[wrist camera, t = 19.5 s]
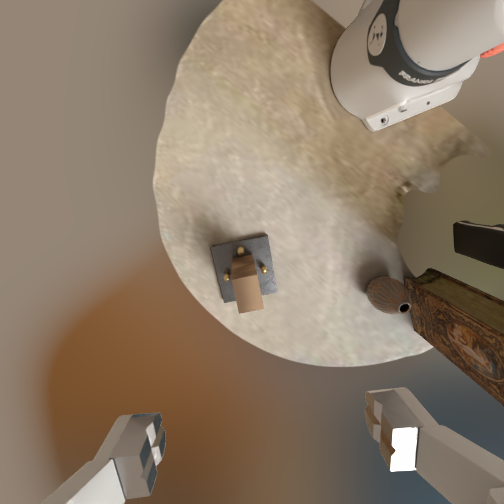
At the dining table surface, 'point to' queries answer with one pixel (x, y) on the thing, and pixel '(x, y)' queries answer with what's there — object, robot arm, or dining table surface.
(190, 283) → the dining table surface
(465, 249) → the battery charger
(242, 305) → the board block
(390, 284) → the vase
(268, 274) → the pin plate
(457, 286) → the book
